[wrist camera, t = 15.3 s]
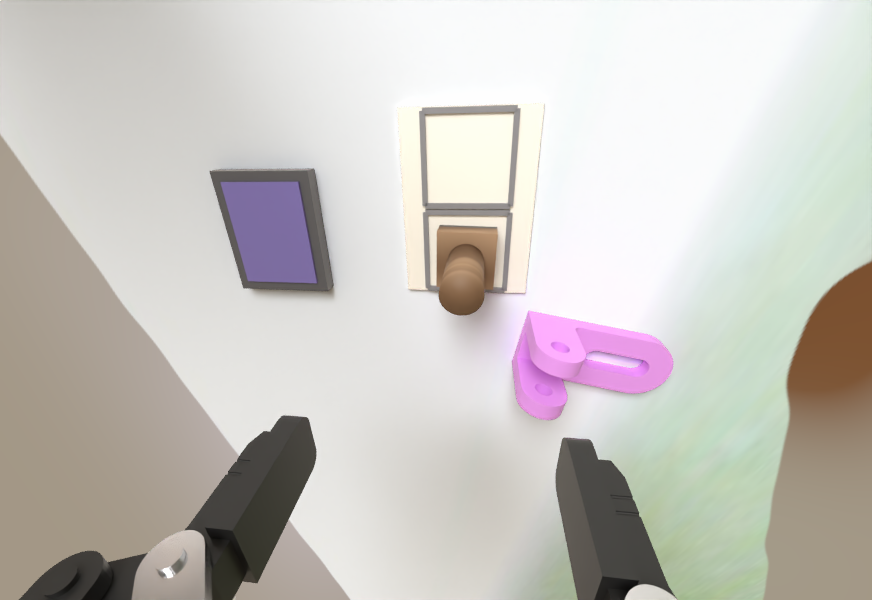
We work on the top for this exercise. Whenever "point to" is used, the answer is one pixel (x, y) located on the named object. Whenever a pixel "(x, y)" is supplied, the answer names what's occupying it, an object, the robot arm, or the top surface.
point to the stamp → (465, 266)
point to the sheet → (470, 183)
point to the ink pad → (275, 227)
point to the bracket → (580, 361)
